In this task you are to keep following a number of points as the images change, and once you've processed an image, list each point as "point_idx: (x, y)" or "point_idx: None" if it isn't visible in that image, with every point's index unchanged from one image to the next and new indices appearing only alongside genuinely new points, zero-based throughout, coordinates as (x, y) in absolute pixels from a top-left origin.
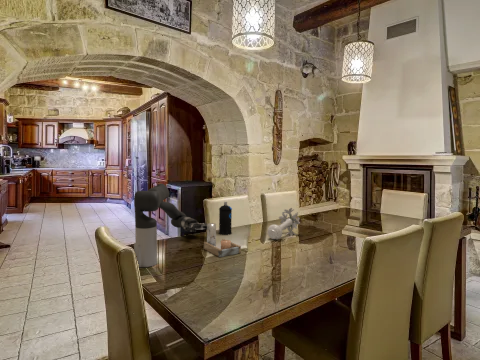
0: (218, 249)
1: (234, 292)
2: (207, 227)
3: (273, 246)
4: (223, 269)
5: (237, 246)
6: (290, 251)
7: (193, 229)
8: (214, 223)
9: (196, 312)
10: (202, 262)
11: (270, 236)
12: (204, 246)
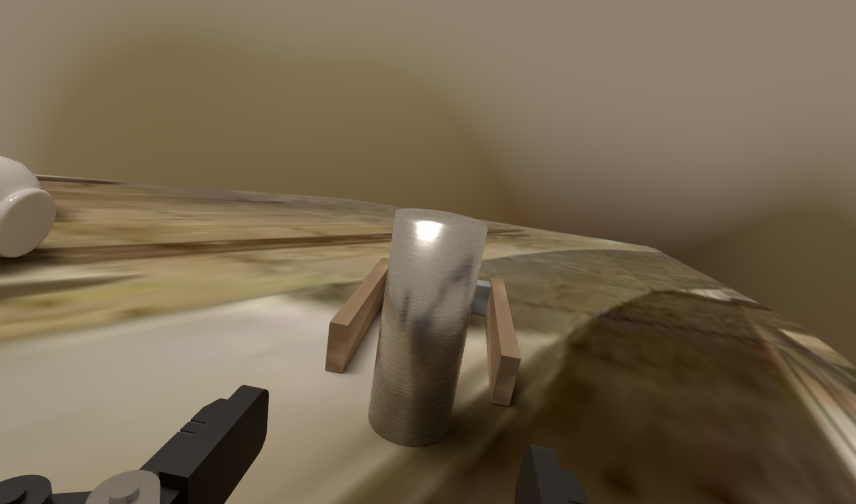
0: (503, 283)
1: (571, 251)
2: (481, 257)
3: (181, 253)
4: (542, 279)
5: None
6: (228, 229)
7: (571, 484)
8: (397, 213)
9: (659, 261)
10: (594, 323)
11: (15, 245)
12: (513, 382)
